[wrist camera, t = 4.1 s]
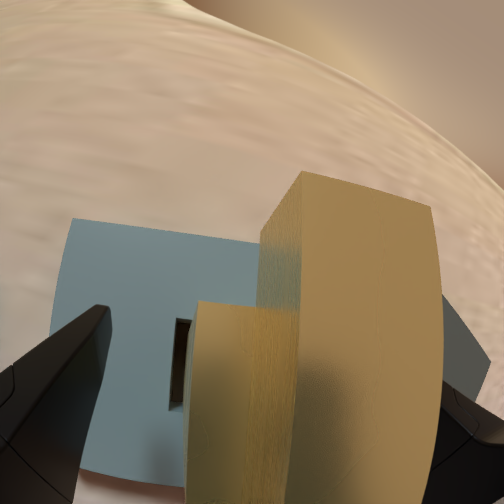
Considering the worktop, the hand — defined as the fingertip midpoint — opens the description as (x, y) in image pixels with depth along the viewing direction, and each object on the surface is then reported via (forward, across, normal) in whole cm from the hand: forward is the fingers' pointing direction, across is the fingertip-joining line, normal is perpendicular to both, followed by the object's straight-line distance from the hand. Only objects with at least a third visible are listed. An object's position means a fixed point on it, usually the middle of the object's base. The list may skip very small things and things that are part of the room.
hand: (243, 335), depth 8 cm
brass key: (+4, 0, +6) cm, 7 cm away
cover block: (+4, 0, +6) cm, 7 cm away
